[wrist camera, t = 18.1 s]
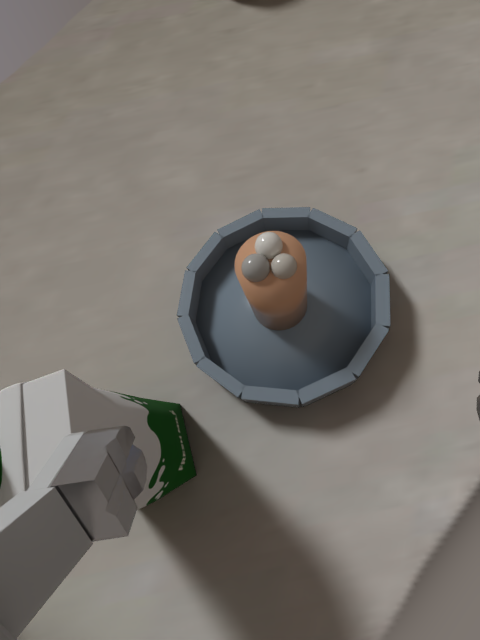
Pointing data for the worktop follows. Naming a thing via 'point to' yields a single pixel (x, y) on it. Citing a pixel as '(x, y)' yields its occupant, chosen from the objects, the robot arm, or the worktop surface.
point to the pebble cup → (274, 278)
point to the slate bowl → (304, 338)
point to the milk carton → (83, 415)
